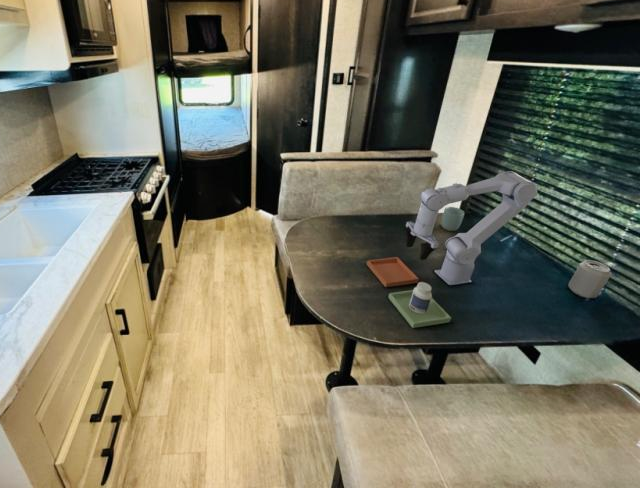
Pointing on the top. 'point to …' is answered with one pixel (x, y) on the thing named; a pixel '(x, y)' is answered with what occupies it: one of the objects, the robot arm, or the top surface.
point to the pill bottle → (420, 298)
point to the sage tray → (414, 319)
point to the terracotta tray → (392, 272)
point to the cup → (452, 218)
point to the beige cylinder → (589, 279)
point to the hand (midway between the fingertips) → (415, 252)
